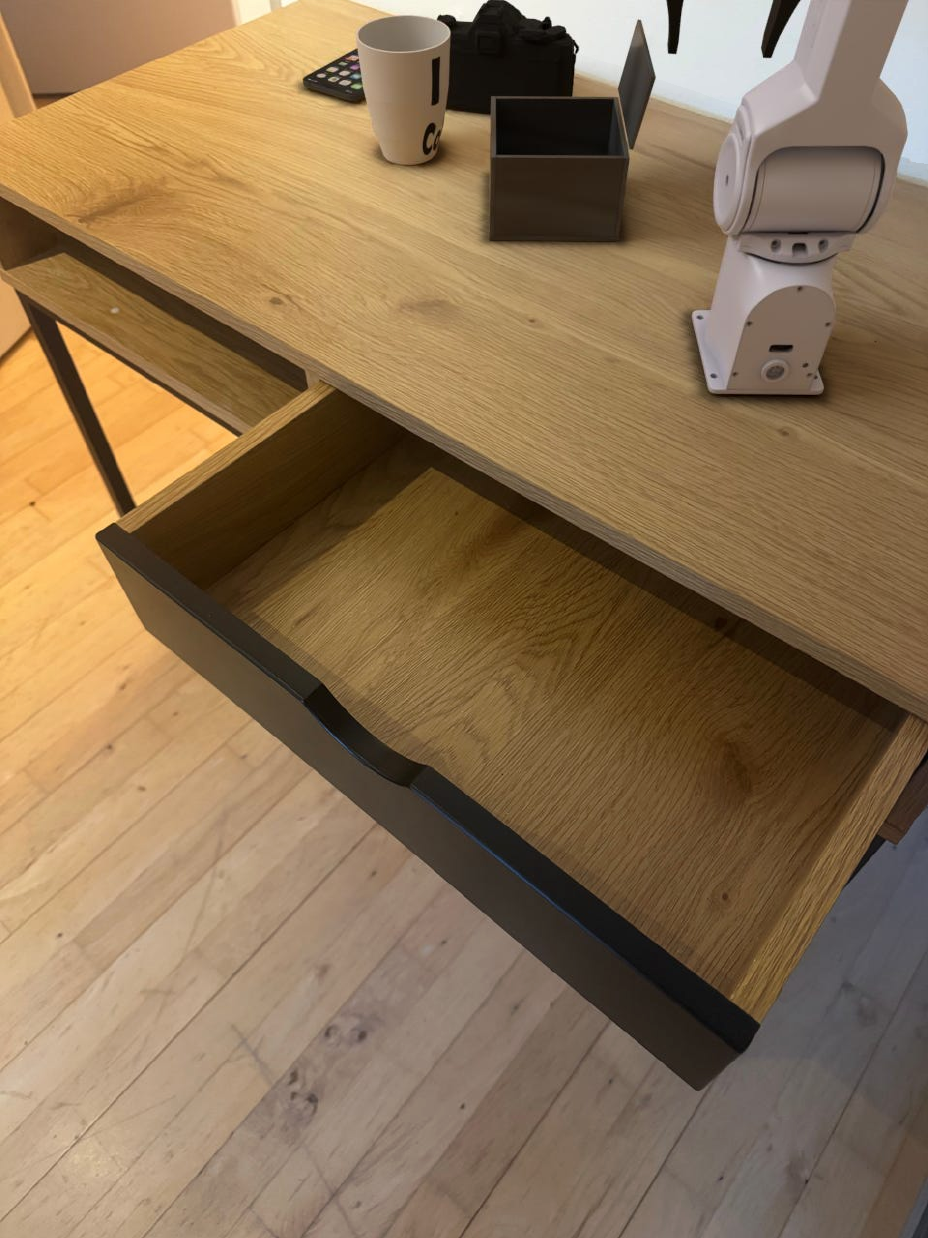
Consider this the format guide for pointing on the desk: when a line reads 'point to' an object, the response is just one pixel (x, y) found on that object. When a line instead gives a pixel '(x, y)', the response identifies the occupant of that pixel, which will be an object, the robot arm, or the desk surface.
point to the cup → (405, 83)
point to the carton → (556, 168)
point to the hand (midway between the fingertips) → (718, 51)
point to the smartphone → (339, 78)
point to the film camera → (507, 57)
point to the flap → (636, 84)
